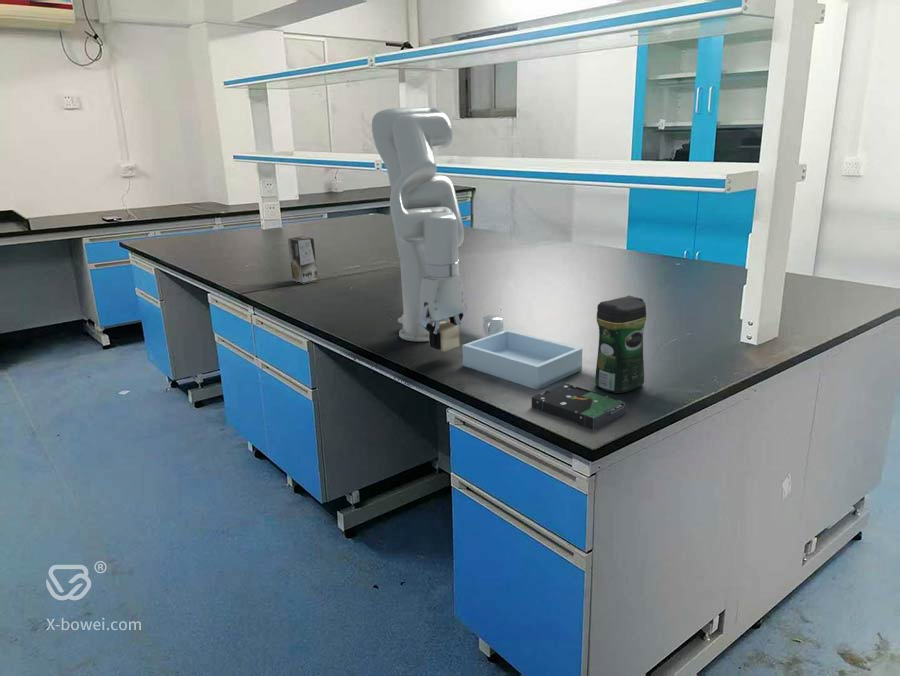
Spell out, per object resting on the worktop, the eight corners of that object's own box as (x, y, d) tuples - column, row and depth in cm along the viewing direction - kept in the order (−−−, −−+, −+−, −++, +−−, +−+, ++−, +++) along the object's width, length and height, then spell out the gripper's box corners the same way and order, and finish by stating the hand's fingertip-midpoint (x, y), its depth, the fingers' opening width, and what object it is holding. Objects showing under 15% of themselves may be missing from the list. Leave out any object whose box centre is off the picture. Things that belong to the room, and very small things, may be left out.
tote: (463, 365, 150) (462, 345, 148) (507, 349, 159) (507, 329, 158) (537, 390, 134) (537, 367, 133) (581, 370, 144) (582, 348, 142)
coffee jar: (621, 375, 140) (625, 290, 134) (650, 386, 133) (655, 298, 128) (587, 385, 135) (589, 298, 130) (615, 397, 129) (618, 306, 123)
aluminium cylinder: (479, 345, 163) (478, 318, 161) (493, 340, 166) (492, 313, 164) (494, 349, 160) (493, 321, 158) (508, 344, 163) (507, 317, 161)
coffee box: (318, 282, 240) (314, 238, 235) (302, 285, 237) (297, 240, 232) (308, 278, 247) (303, 235, 242) (292, 281, 244) (287, 237, 239)
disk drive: (530, 410, 126) (594, 432, 116) (530, 397, 125) (594, 418, 115) (563, 395, 133) (627, 414, 122) (563, 382, 132) (627, 400, 121)
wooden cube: (429, 346, 153) (428, 326, 151) (444, 340, 156) (444, 320, 155) (443, 351, 150) (443, 331, 148) (459, 345, 153) (459, 325, 151)
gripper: (457, 259, 154) (459, 331, 161) (401, 273, 144) (406, 350, 150) (480, 264, 149) (481, 339, 156) (424, 280, 139) (427, 359, 145)
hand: (444, 344), depth 153 cm, fingers closed on wooden cube, 4 cm apart
